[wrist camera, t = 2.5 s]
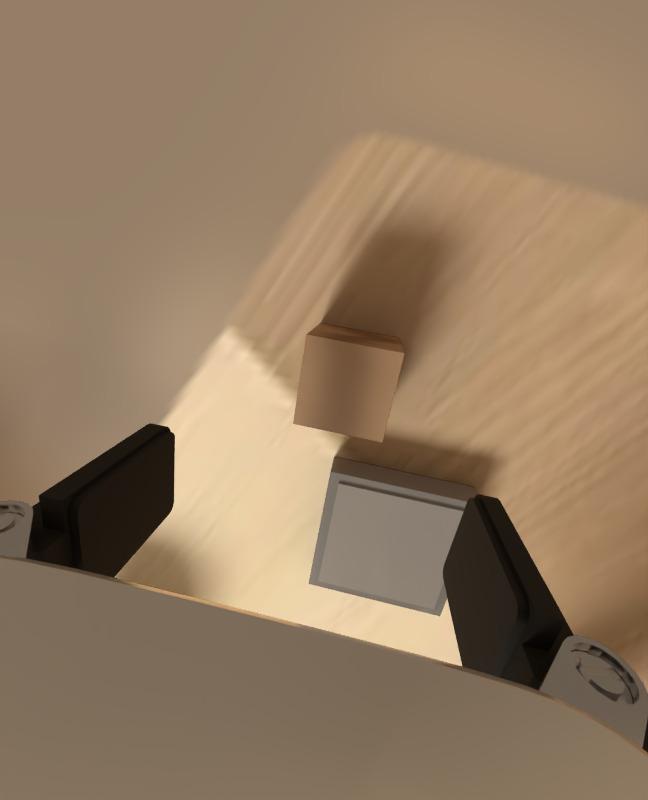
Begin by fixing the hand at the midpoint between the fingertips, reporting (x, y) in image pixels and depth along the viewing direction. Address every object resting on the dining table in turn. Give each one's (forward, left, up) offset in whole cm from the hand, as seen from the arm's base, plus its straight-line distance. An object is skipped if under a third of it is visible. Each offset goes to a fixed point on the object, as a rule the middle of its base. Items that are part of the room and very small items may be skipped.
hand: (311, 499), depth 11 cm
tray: (-6, +14, -18) cm, 24 cm away
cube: (0, 0, -18) cm, 18 cm away
